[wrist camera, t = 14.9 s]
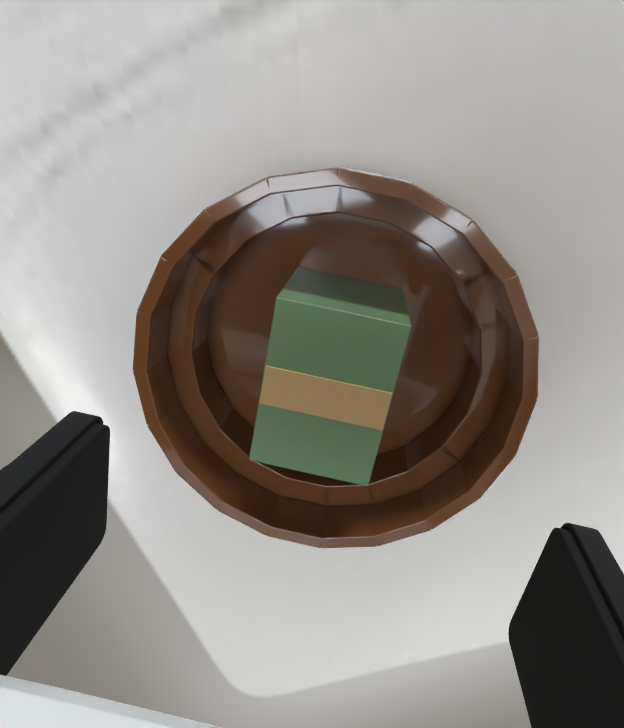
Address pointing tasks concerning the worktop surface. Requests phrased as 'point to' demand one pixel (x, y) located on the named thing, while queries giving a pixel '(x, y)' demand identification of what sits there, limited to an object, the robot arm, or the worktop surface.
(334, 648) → the worktop surface
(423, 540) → the worktop surface
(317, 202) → the bowl
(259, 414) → the package
